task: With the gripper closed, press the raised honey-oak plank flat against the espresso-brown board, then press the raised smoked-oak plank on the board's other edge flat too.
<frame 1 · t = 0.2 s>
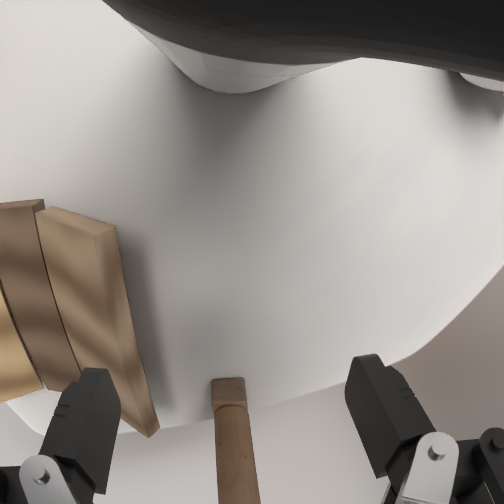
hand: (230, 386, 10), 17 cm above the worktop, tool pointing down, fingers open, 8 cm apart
mating board: (43, 306, 27), on the worktop
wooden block: (231, 404, 36), on the worktop
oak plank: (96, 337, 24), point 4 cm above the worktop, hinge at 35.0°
spread jar: (477, 50, 20), on the worktop
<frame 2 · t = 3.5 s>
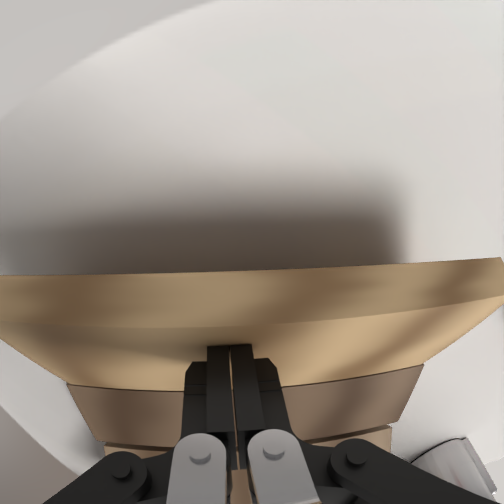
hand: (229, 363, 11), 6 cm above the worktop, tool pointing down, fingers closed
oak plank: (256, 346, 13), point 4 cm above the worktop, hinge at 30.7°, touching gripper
mating board: (248, 397, 20), on the worktop
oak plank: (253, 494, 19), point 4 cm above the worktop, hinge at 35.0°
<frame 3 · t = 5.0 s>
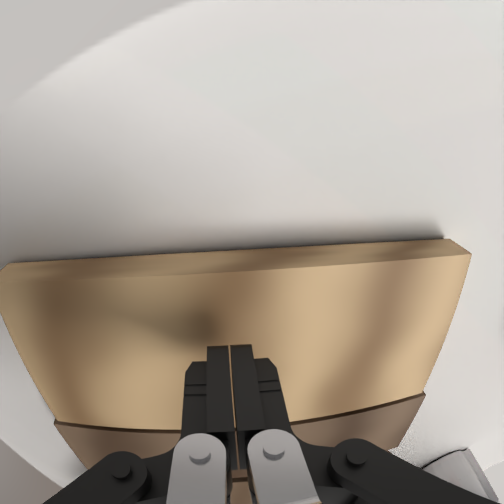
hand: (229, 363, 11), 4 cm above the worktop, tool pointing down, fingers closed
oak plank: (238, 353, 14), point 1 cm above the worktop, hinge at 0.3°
mating board: (241, 431, 18), on the worktop
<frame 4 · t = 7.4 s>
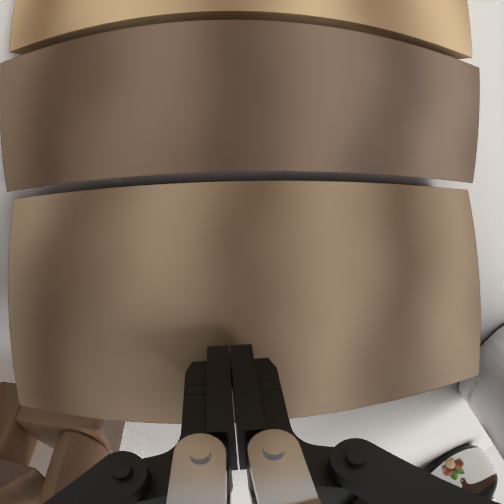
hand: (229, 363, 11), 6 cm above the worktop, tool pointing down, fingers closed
mating board: (248, 96, 13), on the worktop
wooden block: (58, 400, 19), on the worktop
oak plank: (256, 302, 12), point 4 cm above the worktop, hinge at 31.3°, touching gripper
spread jar: (437, 466, 32), on the worktop
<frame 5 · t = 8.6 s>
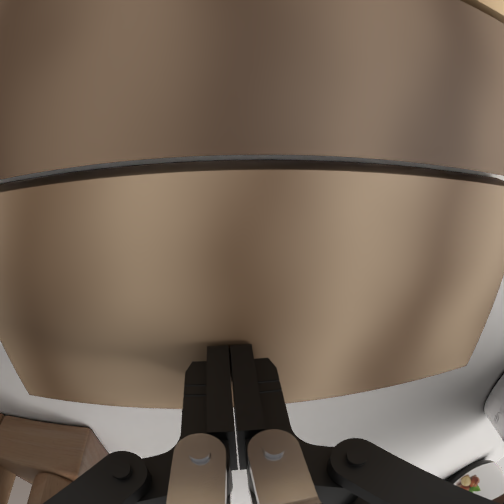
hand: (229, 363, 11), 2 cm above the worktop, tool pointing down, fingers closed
mating board: (258, 55, 9), on the worktop
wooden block: (36, 430, 15), on the worktop
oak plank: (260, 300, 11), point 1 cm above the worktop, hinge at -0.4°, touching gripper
spread jar: (450, 482, 28), on the worktop
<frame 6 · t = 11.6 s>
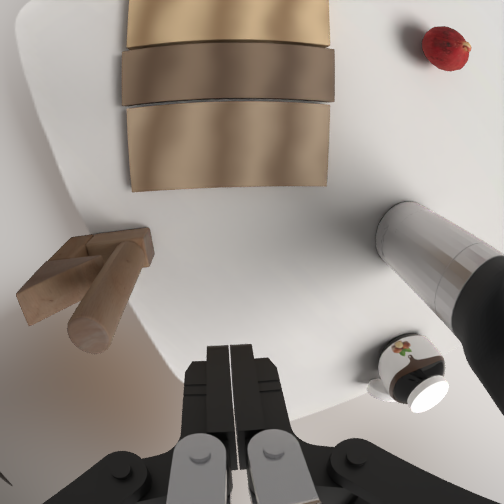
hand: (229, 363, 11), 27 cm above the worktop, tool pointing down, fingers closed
onion: (427, 51, 30), on the worktop
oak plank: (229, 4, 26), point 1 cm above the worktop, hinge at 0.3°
mating board: (228, 72, 30), on the worktop
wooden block: (111, 244, 37), on the worktop
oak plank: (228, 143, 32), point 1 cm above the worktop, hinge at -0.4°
spread jar: (393, 358, 50), on the worktop
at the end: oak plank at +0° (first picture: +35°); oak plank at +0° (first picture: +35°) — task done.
